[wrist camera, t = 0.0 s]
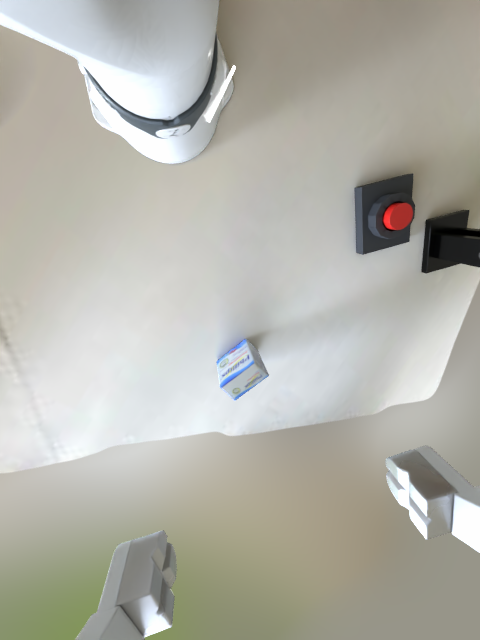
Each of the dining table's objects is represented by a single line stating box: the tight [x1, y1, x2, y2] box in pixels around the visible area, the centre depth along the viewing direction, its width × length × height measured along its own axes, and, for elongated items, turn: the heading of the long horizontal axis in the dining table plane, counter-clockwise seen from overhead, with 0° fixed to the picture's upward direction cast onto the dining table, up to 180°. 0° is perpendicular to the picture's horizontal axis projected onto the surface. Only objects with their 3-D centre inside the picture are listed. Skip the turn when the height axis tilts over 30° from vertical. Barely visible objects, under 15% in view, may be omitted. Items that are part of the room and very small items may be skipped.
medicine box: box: [217, 339, 269, 400], centre depth 48 cm, size 8×4×9 cm, turn 128°
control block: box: [355, 174, 415, 254], centre depth 43 cm, size 11×9×4 cm
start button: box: [382, 203, 413, 230], centre depth 41 cm, size 4×4×2 cm
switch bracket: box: [422, 210, 480, 273], centre depth 44 cm, size 10×8×12 cm
